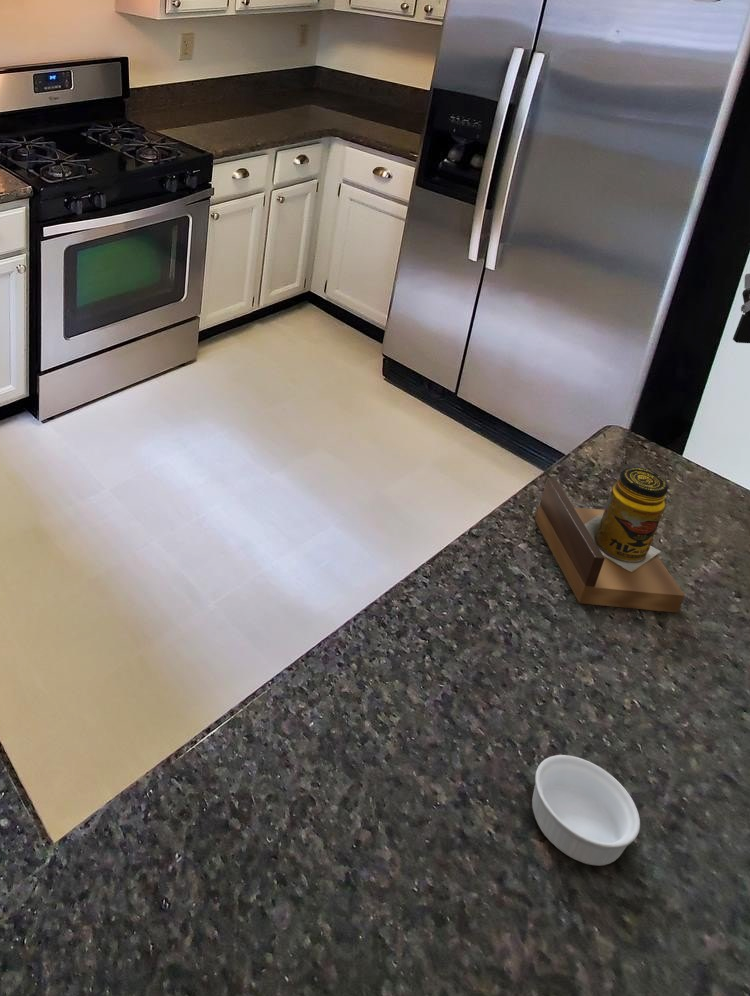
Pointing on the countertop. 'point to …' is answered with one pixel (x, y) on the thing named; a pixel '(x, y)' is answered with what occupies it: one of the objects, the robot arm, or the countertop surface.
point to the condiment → (630, 518)
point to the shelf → (600, 560)
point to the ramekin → (583, 810)
